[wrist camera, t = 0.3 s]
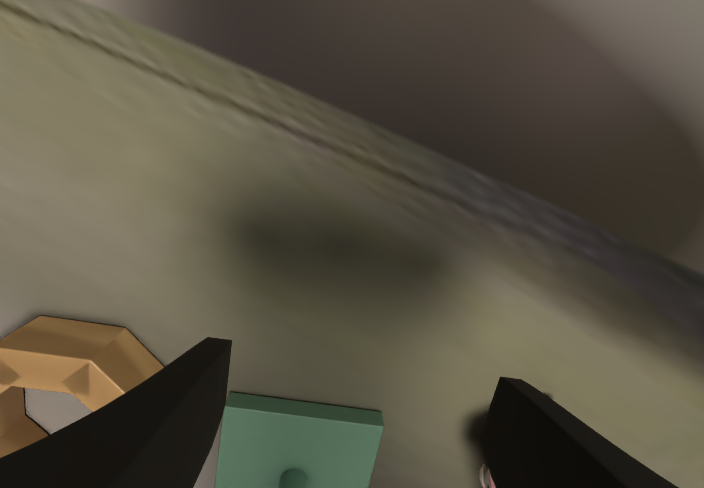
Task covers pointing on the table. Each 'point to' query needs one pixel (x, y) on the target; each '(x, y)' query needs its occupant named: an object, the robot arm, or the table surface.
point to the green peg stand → (295, 444)
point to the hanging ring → (65, 370)
